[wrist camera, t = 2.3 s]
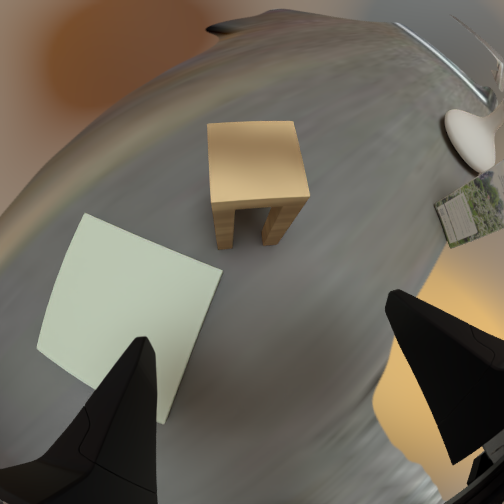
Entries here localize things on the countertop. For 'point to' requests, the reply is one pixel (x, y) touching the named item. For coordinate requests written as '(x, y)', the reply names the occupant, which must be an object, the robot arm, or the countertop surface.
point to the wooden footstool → (255, 176)
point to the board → (125, 306)
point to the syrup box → (474, 208)
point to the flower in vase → (475, 136)
